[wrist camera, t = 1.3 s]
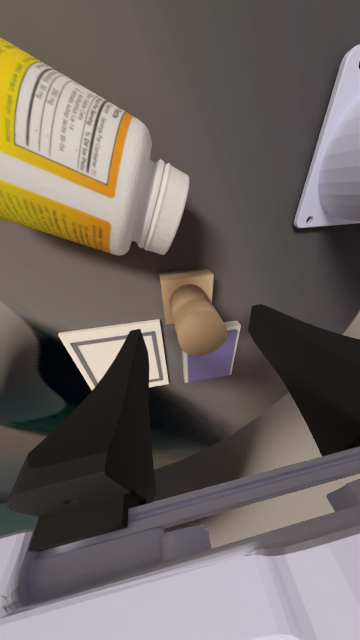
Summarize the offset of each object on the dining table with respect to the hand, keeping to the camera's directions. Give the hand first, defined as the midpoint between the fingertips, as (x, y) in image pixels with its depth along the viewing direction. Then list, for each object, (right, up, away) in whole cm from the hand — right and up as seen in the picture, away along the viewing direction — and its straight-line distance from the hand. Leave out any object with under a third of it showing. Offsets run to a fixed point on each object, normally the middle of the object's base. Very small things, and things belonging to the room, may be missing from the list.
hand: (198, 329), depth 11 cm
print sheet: (-7, -4, +8) cm, 11 cm away
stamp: (-1, +3, +4) cm, 5 cm away
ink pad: (+2, -3, +9) cm, 10 cm away
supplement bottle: (-11, +8, -5) cm, 15 cm away
